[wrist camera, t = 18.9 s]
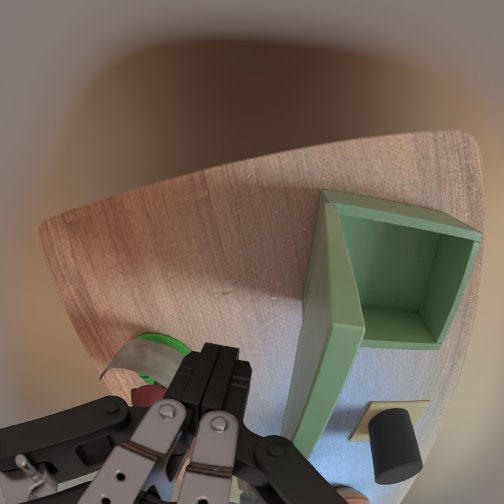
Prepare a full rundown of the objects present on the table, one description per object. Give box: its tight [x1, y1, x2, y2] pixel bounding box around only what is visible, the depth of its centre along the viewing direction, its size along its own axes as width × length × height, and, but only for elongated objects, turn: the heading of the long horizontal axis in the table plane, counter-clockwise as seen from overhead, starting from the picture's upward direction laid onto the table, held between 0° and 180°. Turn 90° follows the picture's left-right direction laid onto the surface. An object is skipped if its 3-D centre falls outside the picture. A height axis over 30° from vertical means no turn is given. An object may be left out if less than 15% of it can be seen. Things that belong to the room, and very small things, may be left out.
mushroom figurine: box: [100, 333, 191, 407], centre depth 29 cm, size 12×13×15 cm
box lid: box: [280, 203, 366, 460], centre depth 14 cm, size 14×12×1 cm
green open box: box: [302, 189, 482, 350], centre depth 24 cm, size 14×12×7 cm
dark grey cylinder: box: [368, 408, 423, 485], centre depth 30 cm, size 7×7×10 cm
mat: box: [349, 400, 430, 441], centre depth 35 cm, size 10×10×1 cm
